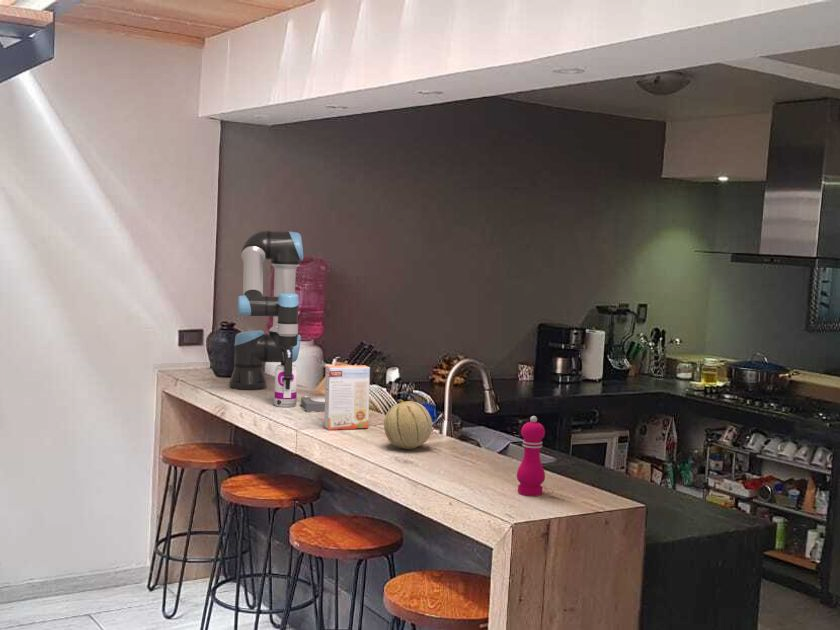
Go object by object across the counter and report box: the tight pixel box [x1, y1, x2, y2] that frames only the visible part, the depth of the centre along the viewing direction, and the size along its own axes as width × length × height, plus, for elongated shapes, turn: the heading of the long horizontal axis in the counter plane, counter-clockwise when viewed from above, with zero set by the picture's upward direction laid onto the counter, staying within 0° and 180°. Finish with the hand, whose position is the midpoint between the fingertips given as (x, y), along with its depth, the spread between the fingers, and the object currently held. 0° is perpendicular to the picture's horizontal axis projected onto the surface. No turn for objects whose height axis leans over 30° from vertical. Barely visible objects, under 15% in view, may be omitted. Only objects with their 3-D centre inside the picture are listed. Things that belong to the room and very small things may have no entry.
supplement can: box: [273, 364, 298, 408], centre depth 360 cm, size 8×8×15 cm
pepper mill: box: [516, 415, 546, 497], centre depth 247 cm, size 7×7×20 cm
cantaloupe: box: [383, 398, 433, 450], centre depth 295 cm, size 15×15×15 cm
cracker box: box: [323, 364, 371, 431], centre depth 322 cm, size 14×6×21 cm, turn 110°
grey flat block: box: [300, 394, 325, 412], centre depth 358 cm, size 14×16×4 cm
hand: (285, 395), depth 360 cm, fingers closed on supplement can, 8 cm apart
